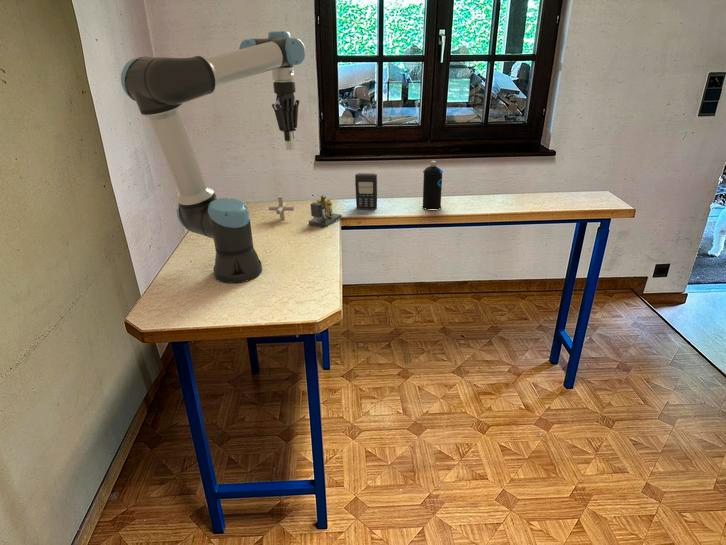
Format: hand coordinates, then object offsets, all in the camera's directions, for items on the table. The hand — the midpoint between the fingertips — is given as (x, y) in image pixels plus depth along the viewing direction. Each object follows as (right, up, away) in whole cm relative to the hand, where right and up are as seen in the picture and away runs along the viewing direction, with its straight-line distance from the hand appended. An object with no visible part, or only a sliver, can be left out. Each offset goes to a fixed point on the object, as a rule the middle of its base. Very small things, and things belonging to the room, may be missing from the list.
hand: (290, 149), depth 176 cm
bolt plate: (+12, -25, +18) cm, 33 cm away
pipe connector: (-6, -24, +21) cm, 32 cm away
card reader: (+28, -18, +31) cm, 46 cm away
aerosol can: (+57, -18, +30) cm, 66 cm away
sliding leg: (+12, -23, +18) cm, 31 cm away
